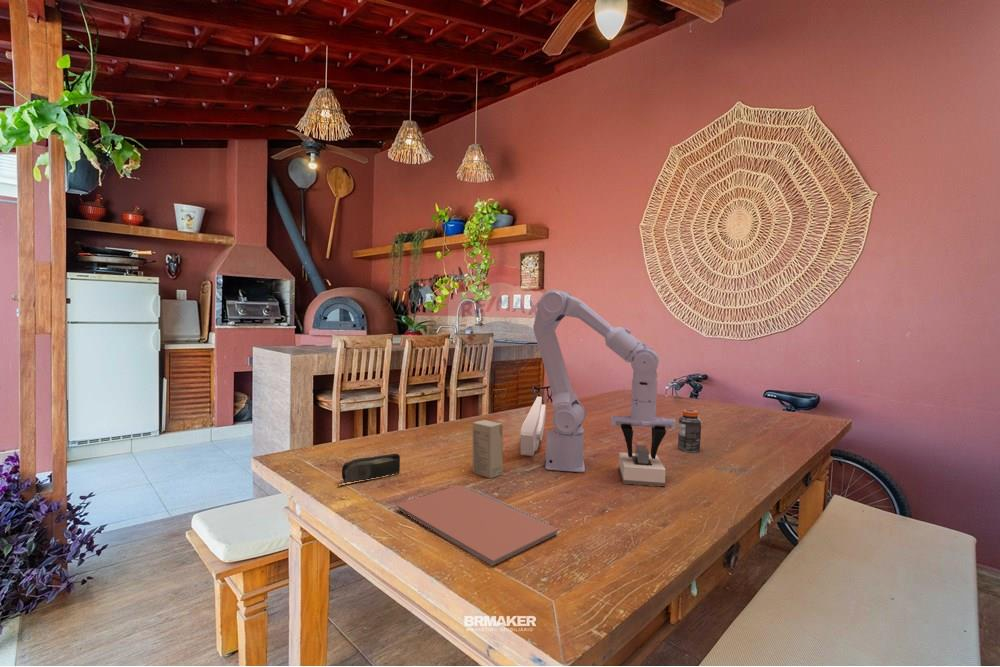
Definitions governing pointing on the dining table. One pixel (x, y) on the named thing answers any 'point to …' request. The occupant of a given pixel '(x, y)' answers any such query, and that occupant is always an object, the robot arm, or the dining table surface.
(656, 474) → the post block
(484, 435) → the skincare box
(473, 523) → the notebook
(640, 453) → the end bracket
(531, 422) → the shelf bracket
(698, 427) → the pill bottle
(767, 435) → the dining table surface
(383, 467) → the black rounded block
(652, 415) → the robot arm
